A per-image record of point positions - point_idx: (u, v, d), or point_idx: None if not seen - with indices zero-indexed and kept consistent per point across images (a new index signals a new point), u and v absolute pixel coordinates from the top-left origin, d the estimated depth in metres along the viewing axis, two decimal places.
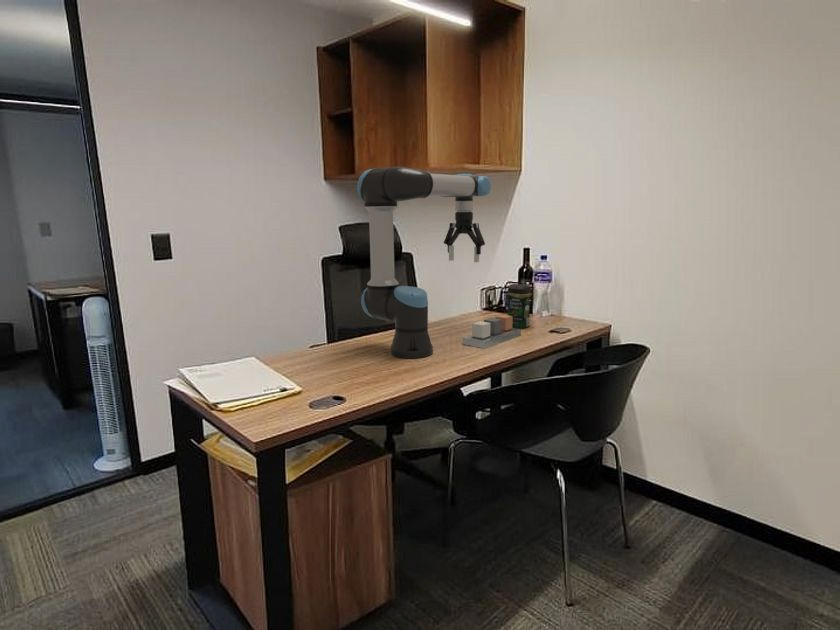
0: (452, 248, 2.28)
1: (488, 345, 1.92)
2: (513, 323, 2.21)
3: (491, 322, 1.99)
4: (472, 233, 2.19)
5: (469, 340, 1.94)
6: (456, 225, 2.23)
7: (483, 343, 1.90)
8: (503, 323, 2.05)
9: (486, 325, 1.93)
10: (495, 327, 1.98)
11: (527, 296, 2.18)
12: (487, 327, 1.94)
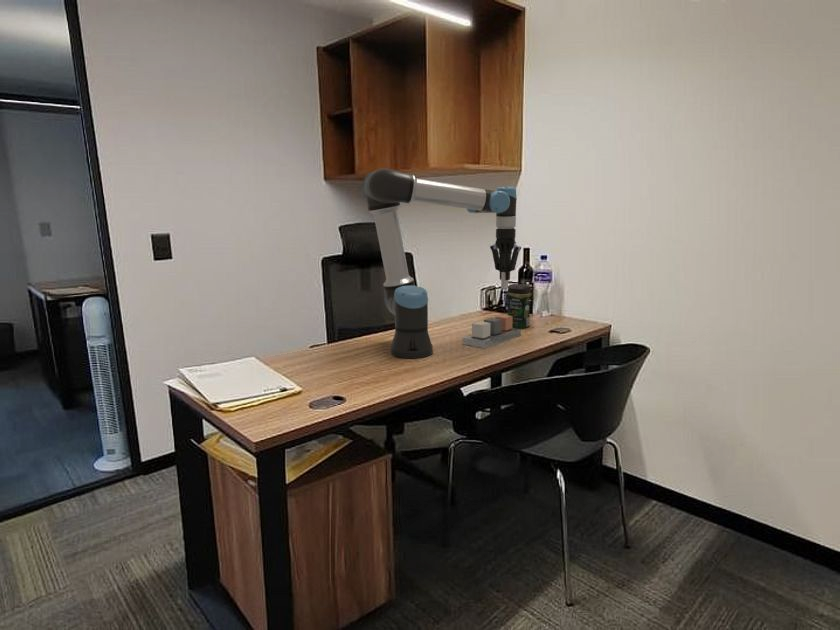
0: None
1: (488, 345, 1.92)
2: (513, 323, 2.21)
3: (491, 322, 1.99)
4: (509, 255, 2.01)
5: (469, 340, 1.94)
6: (497, 243, 2.02)
7: (483, 343, 1.90)
8: (503, 323, 2.05)
9: (486, 325, 1.93)
10: (495, 327, 1.98)
11: (527, 296, 2.18)
12: (487, 327, 1.94)
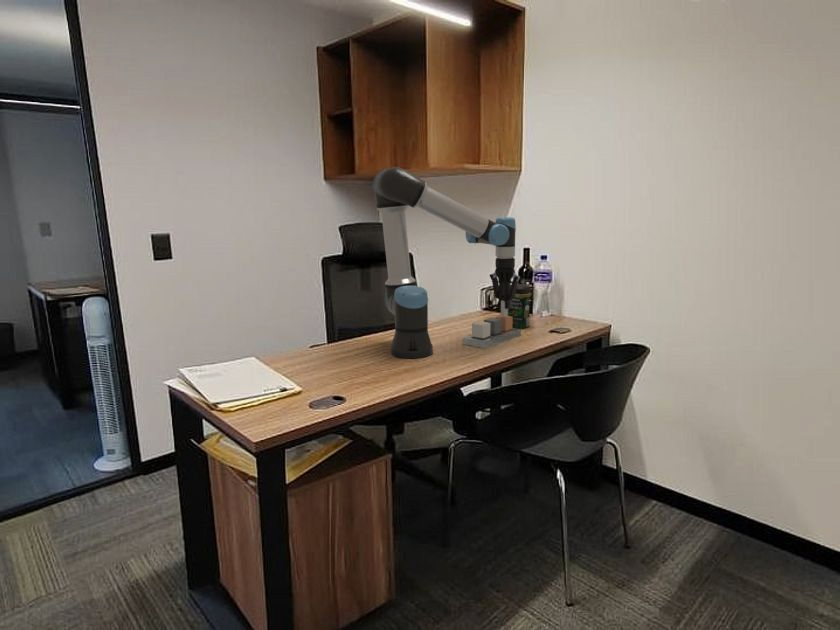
0: None
1: (488, 345, 1.92)
2: (513, 323, 2.21)
3: (491, 322, 1.99)
4: (509, 284, 2.03)
5: (469, 340, 1.94)
6: (496, 272, 2.04)
7: (483, 343, 1.90)
8: (503, 323, 2.05)
9: (486, 325, 1.93)
10: (495, 327, 1.98)
11: (527, 296, 2.18)
12: (487, 327, 1.94)
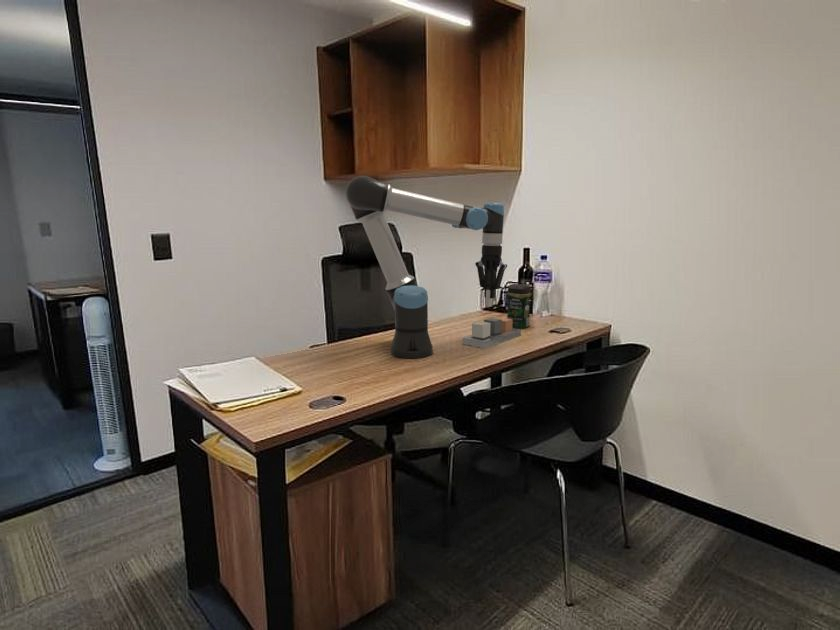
0: None
1: (488, 345, 1.92)
2: (513, 323, 2.21)
3: (491, 322, 1.99)
4: (495, 273, 1.96)
5: (469, 340, 1.94)
6: (482, 260, 1.97)
7: (483, 343, 1.90)
8: (503, 326, 2.05)
9: (486, 325, 1.93)
10: (495, 327, 1.98)
11: (527, 296, 2.18)
12: (487, 327, 1.94)
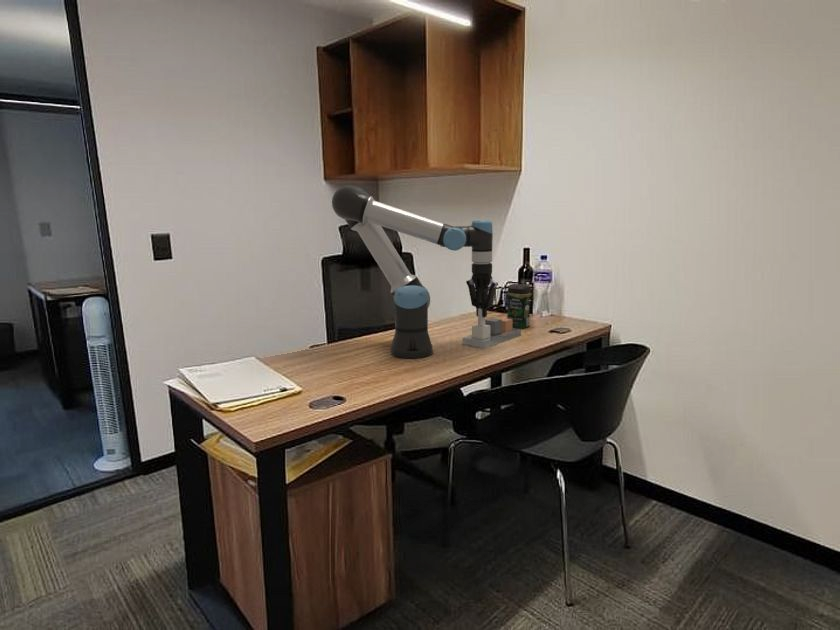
0: None
1: (488, 345, 1.92)
2: (513, 323, 2.21)
3: (491, 322, 1.99)
4: (486, 291, 1.91)
5: (469, 340, 1.94)
6: (473, 278, 1.93)
7: (483, 343, 1.90)
8: (503, 326, 2.05)
9: (486, 328, 1.94)
10: (495, 327, 1.98)
11: (527, 296, 2.18)
12: (487, 329, 1.94)
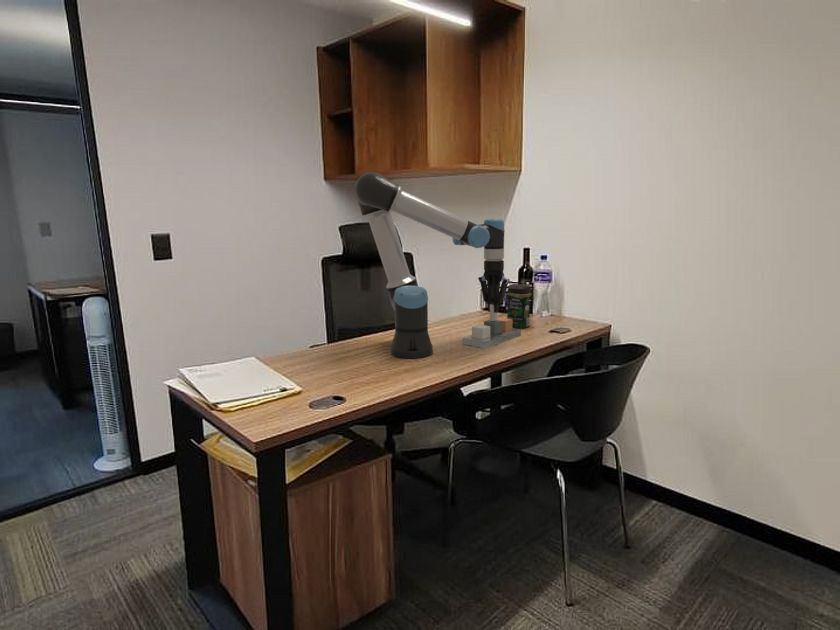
0: None
1: (488, 345, 1.92)
2: (513, 323, 2.21)
3: (491, 323, 1.99)
4: (498, 287, 1.97)
5: (469, 340, 1.94)
6: (485, 275, 1.99)
7: (483, 343, 1.90)
8: (503, 326, 2.05)
9: (486, 328, 1.94)
10: (495, 328, 1.98)
11: (527, 296, 2.18)
12: (487, 330, 1.94)
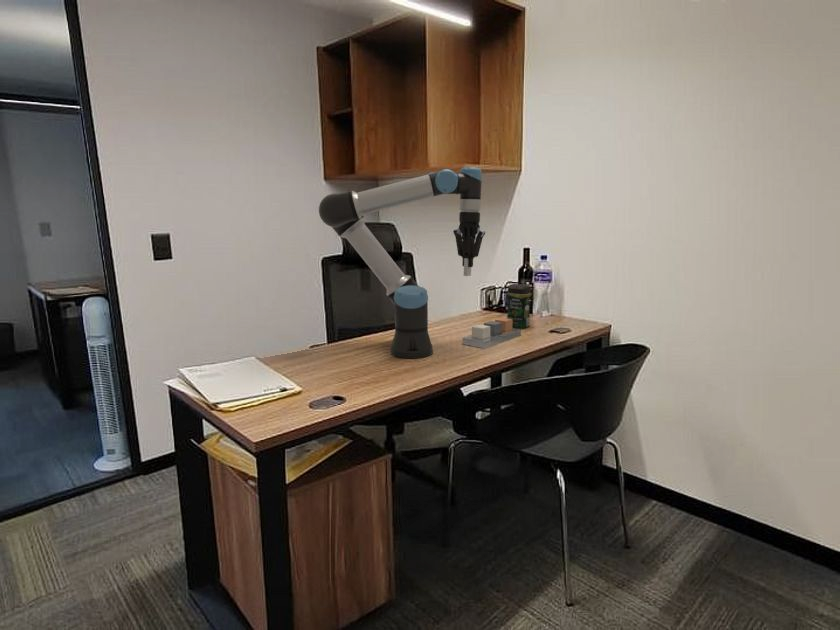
0: None
1: (488, 345, 1.92)
2: (513, 323, 2.21)
3: (491, 325, 1.99)
4: (473, 240, 1.90)
5: (469, 340, 1.94)
6: (460, 227, 1.91)
7: (483, 343, 1.90)
8: (503, 326, 2.05)
9: (486, 328, 1.94)
10: (495, 330, 1.99)
11: (527, 296, 2.18)
12: (487, 330, 1.94)
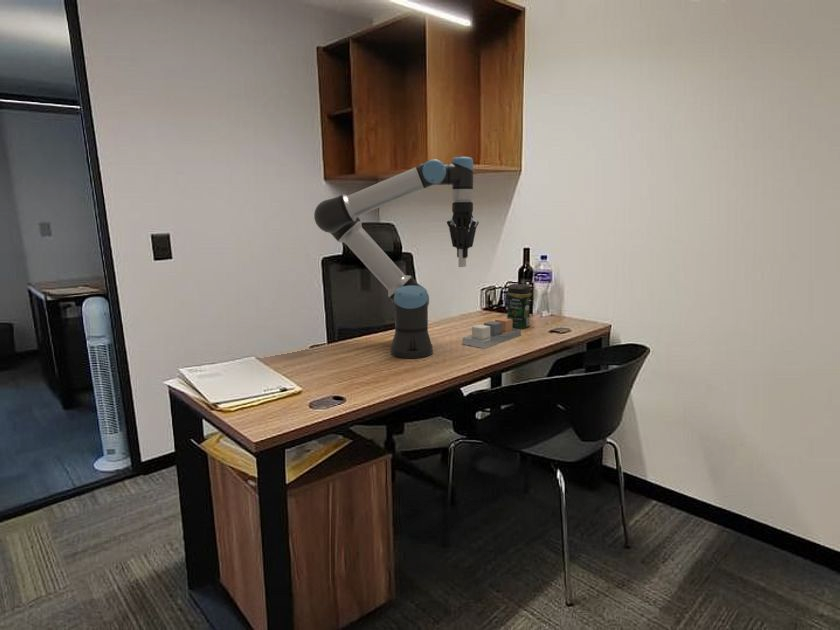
0: None
1: (488, 345, 1.92)
2: (513, 323, 2.21)
3: (491, 325, 1.99)
4: (466, 231, 1.88)
5: (469, 340, 1.94)
6: (453, 218, 1.89)
7: (483, 343, 1.90)
8: (503, 326, 2.05)
9: (486, 328, 1.94)
10: (495, 330, 1.99)
11: (527, 296, 2.18)
12: (487, 330, 1.94)
